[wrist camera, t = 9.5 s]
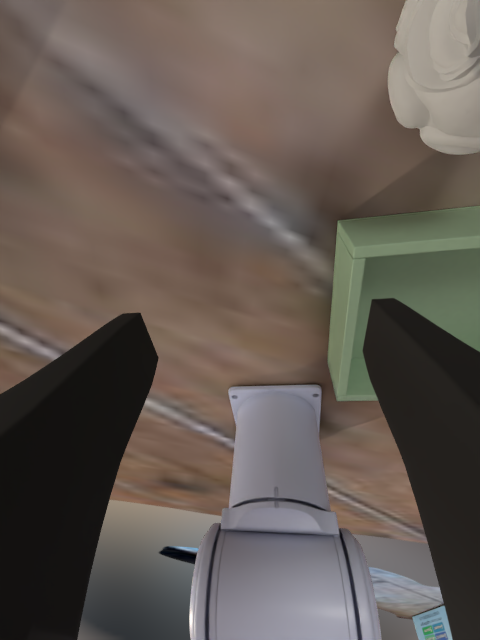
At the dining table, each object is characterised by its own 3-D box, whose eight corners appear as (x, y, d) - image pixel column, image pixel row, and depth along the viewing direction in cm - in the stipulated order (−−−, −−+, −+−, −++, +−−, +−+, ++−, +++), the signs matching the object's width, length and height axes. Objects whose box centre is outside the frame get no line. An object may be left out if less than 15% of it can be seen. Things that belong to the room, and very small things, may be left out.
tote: (513, 354, 21) (556, 397, 18) (327, 361, 22) (336, 401, 19) (613, 191, 14) (709, 214, 11) (337, 220, 16) (354, 247, 13)
